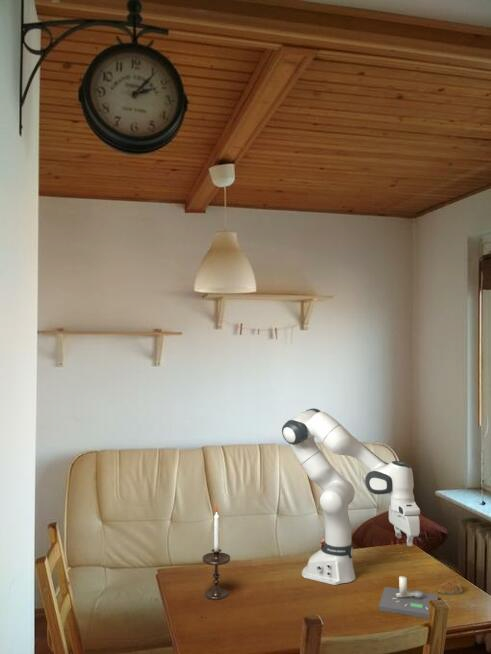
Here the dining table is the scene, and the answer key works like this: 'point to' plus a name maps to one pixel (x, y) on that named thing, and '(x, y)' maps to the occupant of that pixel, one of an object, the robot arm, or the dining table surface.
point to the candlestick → (216, 564)
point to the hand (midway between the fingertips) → (403, 541)
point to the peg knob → (404, 589)
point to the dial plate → (406, 603)
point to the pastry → (449, 588)
